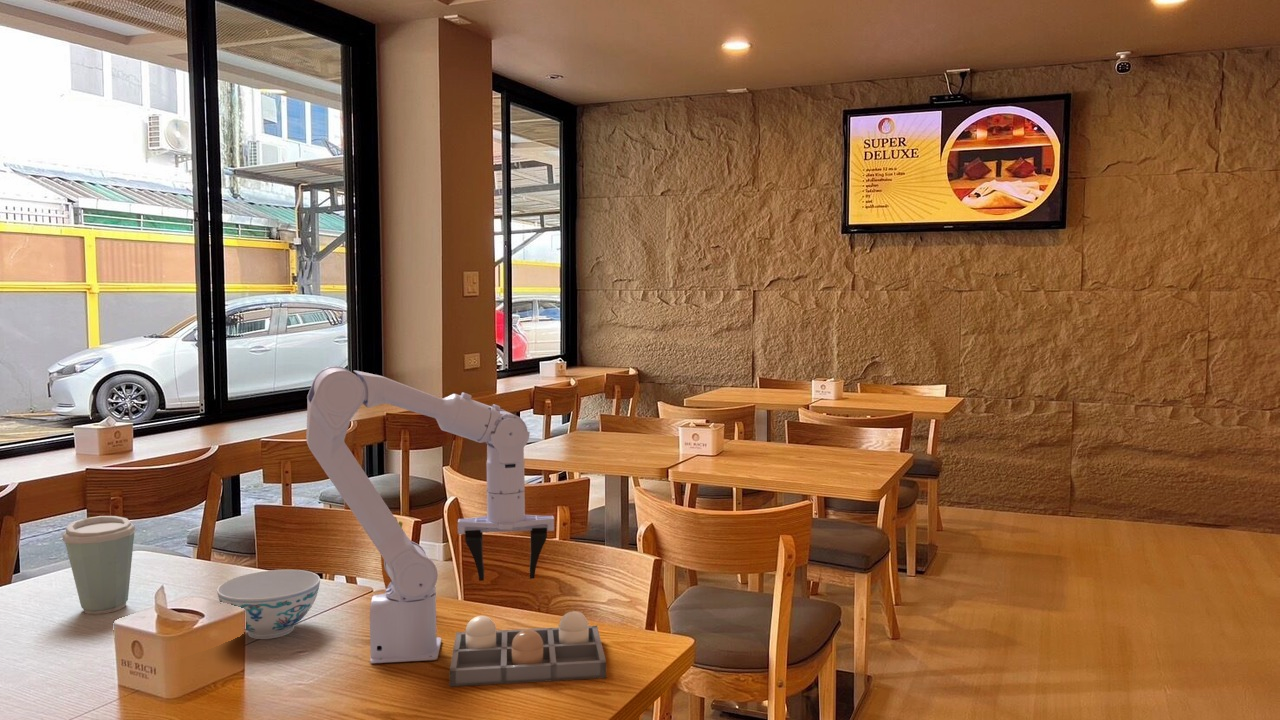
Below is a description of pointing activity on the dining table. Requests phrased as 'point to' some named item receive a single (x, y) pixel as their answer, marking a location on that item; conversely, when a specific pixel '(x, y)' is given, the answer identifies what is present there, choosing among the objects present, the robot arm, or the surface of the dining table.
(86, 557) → the disposable coffee cup
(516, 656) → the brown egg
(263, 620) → the chinaware
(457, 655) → the egg carton
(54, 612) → the dining table surface
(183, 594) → the dining table surface
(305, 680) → the dining table surface
